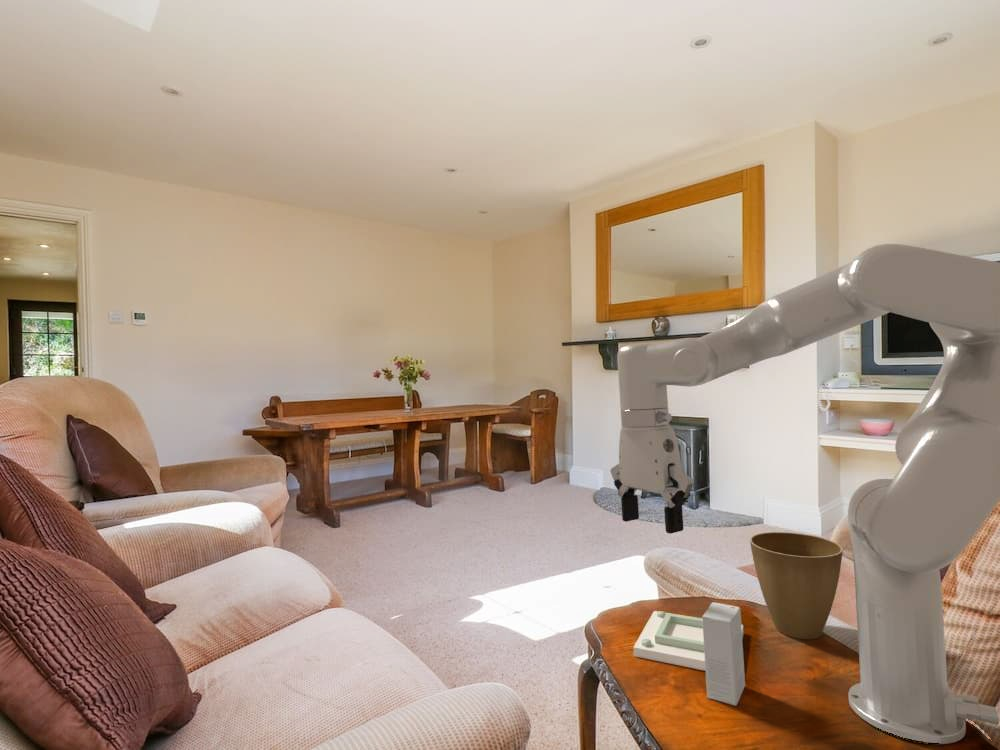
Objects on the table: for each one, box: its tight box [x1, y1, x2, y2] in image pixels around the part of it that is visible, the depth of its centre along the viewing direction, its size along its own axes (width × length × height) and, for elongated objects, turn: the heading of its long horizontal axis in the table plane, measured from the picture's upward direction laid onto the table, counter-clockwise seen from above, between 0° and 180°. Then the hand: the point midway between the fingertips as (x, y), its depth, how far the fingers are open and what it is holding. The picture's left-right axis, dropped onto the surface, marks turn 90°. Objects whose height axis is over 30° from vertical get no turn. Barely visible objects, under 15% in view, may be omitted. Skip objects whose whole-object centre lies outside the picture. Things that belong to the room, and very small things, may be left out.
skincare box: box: [701, 601, 746, 706], centre depth 79 cm, size 6×4×12 cm
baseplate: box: [632, 610, 744, 672], centre depth 94 cm, size 16×16×3 cm
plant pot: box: [749, 531, 844, 640], centre depth 97 cm, size 15×15×16 cm
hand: (651, 525), depth 86 cm, fingers open, 9 cm apart
